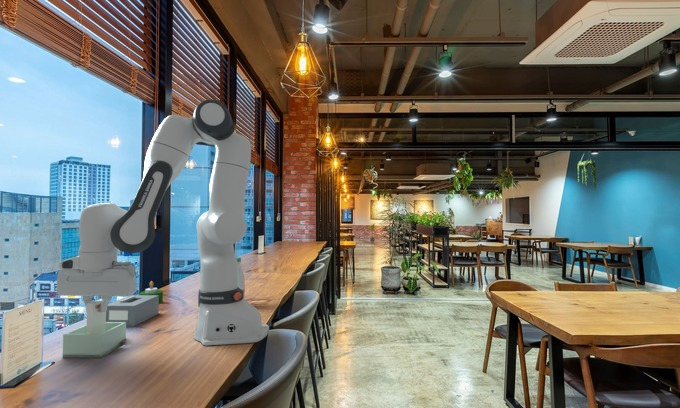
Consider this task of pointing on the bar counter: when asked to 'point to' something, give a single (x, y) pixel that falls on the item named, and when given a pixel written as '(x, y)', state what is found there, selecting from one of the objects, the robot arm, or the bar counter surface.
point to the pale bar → (95, 318)
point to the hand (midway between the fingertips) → (96, 311)
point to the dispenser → (133, 309)
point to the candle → (153, 292)
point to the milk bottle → (240, 276)
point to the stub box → (93, 341)
